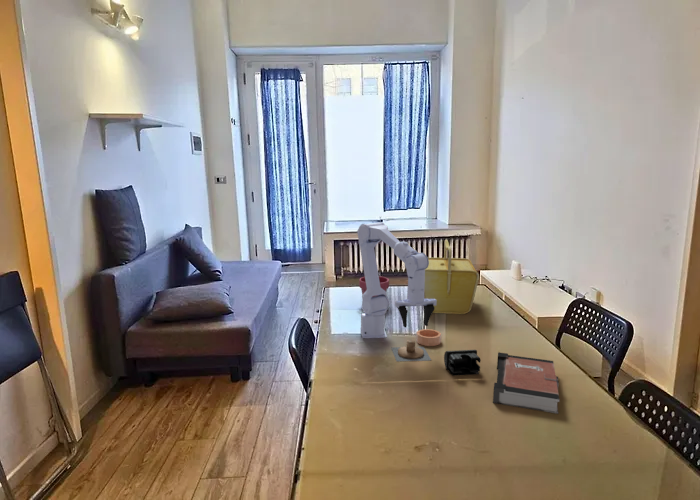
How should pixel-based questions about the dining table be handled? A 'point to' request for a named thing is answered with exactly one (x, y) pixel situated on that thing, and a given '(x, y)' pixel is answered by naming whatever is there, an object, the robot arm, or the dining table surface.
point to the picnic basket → (451, 283)
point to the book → (526, 383)
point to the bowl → (428, 337)
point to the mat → (399, 358)
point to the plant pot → (383, 284)
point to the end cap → (462, 362)
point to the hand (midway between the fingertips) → (415, 325)
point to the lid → (410, 351)
